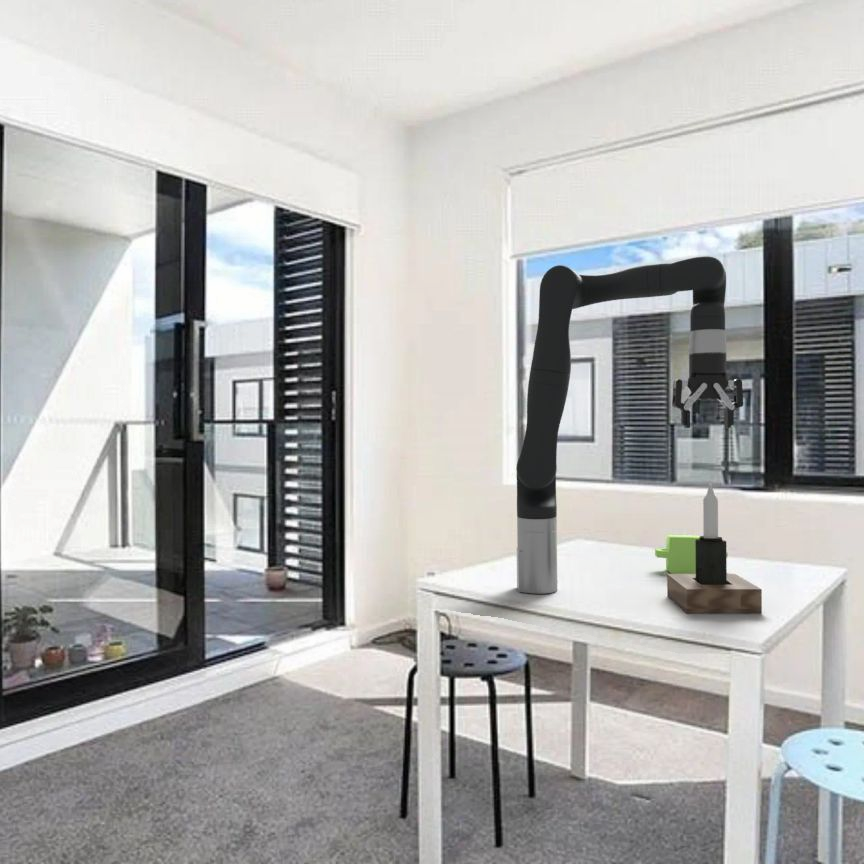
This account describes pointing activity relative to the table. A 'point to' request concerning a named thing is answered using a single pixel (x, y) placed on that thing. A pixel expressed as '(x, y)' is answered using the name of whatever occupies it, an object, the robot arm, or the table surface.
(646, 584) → the table surface
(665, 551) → the green square pitcher
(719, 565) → the candle
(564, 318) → the robot arm
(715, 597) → the holder
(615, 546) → the table surface
